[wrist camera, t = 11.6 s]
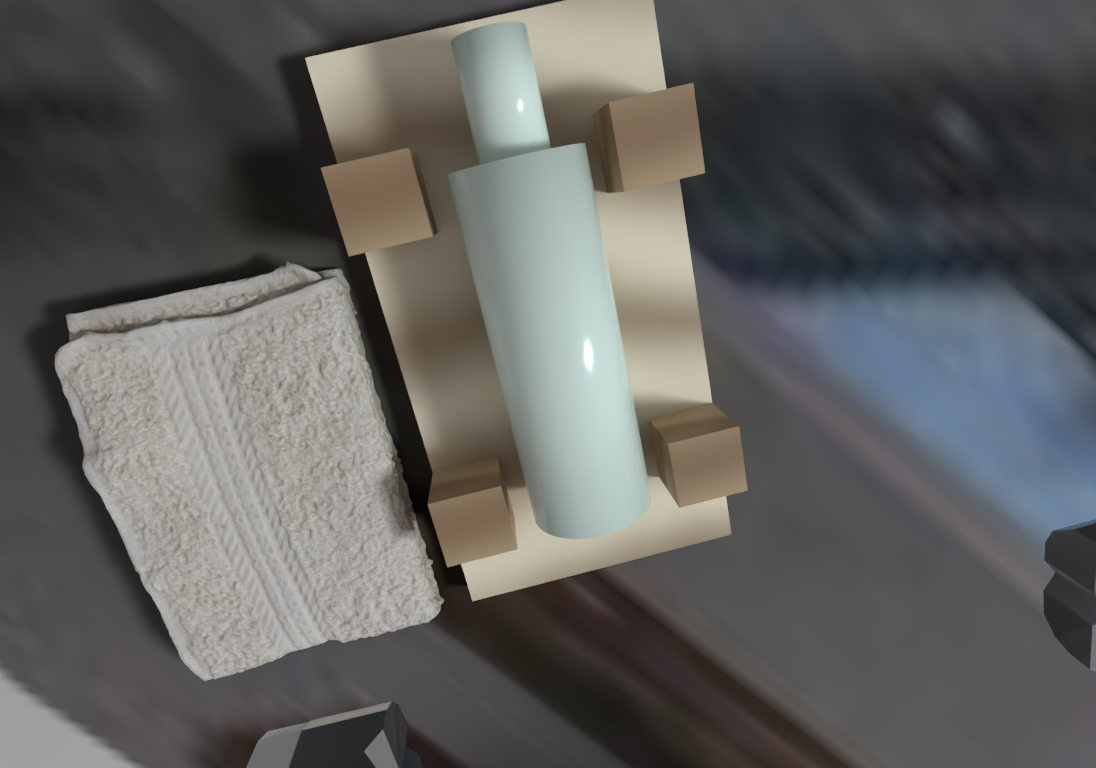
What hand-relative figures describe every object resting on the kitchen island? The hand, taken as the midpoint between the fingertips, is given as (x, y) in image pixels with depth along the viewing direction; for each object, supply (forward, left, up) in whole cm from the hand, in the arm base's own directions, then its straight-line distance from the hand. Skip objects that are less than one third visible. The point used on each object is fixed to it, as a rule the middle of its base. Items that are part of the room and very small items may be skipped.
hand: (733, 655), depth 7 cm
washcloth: (-4, +14, -21) cm, 26 cm away
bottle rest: (0, 0, -21) cm, 21 cm away
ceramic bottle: (+2, 0, -20) cm, 20 cm away
